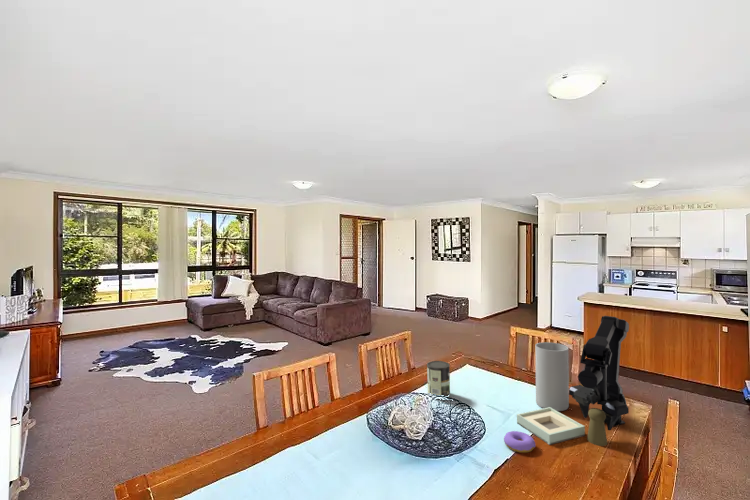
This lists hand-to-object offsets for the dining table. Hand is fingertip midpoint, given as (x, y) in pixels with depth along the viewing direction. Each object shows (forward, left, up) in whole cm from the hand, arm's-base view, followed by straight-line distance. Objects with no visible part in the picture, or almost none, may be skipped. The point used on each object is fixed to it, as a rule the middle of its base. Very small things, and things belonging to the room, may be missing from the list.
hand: (597, 423), depth 128 cm
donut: (+27, -7, -6) cm, 29 cm away
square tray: (+9, -12, -6) cm, 16 cm away
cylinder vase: (-7, -27, -6) cm, 29 cm away
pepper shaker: (0, 0, -6) cm, 6 cm away
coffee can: (+32, -54, -6) cm, 63 cm away
